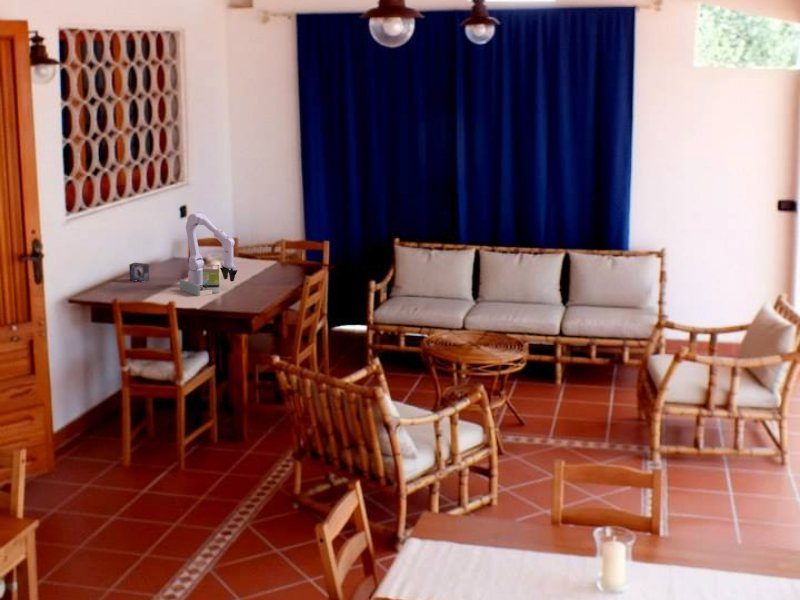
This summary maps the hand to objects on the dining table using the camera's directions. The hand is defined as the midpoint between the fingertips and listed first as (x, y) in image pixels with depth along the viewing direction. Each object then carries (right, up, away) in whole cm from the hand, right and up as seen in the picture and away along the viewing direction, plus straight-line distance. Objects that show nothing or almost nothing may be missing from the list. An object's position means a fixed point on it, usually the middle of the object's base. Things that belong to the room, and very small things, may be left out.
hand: (228, 280), depth 704 cm
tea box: (-9, -7, -9) cm, 14 cm away
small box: (-58, 0, +17) cm, 60 cm away
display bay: (-18, -7, -13) cm, 23 cm away
